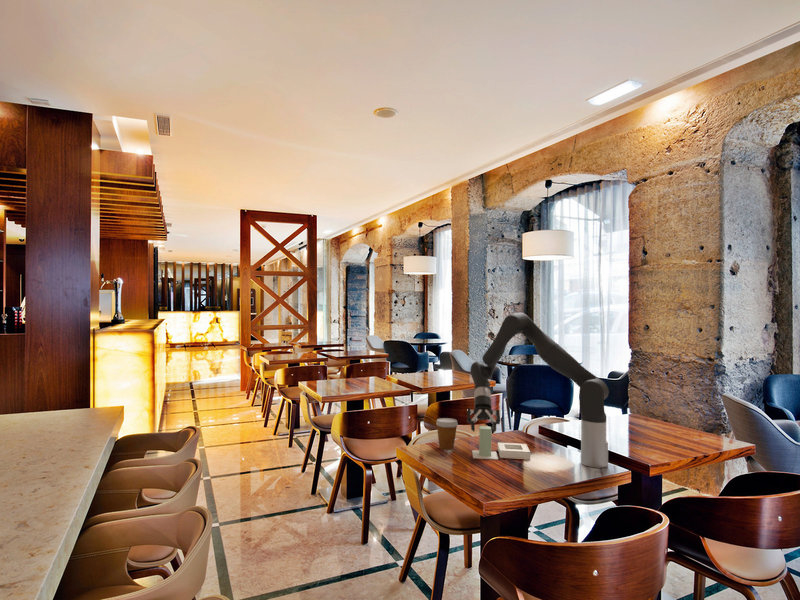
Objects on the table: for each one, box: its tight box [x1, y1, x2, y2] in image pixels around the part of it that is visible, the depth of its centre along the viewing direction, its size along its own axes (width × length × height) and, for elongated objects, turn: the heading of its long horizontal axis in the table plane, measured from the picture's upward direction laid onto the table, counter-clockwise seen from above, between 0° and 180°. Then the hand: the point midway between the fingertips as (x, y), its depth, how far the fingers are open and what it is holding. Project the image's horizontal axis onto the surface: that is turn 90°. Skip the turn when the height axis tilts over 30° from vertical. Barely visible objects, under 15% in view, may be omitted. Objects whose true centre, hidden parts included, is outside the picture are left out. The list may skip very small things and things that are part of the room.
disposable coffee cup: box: [435, 417, 459, 451], centre depth 202 cm, size 10×10×12 cm
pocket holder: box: [497, 442, 531, 460], centre depth 195 cm, size 12×12×3 cm
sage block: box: [478, 425, 492, 456], centre depth 192 cm, size 5×5×11 cm
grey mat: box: [471, 450, 499, 461], centre depth 192 cm, size 10×10×1 cm
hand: (483, 431), depth 199 cm, fingers open, 8 cm apart
